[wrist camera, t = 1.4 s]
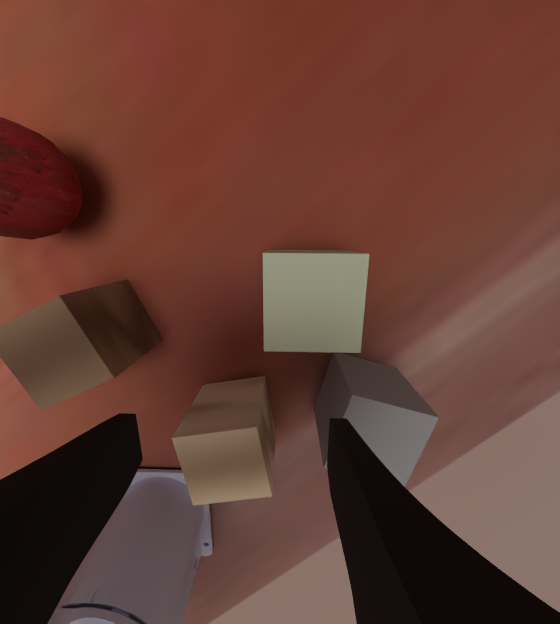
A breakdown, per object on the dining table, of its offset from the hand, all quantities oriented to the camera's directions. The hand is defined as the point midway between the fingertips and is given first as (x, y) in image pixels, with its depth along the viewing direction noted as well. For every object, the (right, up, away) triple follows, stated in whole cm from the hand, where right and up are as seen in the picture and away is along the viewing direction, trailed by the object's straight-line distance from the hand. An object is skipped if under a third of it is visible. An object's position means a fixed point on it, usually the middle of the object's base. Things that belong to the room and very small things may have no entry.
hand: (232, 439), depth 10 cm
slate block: (+8, -1, +11) cm, 13 cm away
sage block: (+4, +7, +9) cm, 12 cm away
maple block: (-1, -3, +12) cm, 12 cm away
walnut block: (-10, +4, +10) cm, 15 cm away
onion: (-12, +13, +8) cm, 19 cm away
